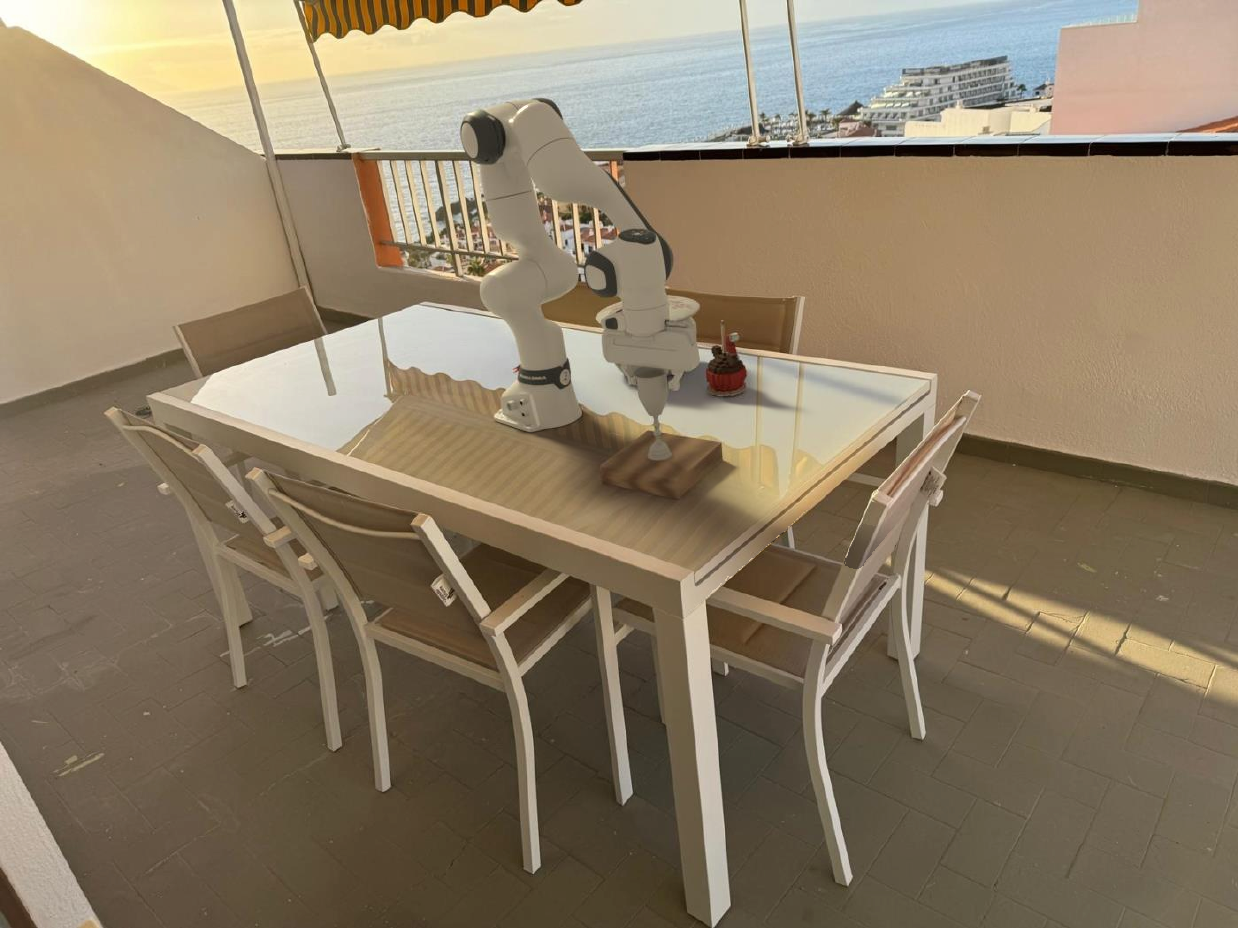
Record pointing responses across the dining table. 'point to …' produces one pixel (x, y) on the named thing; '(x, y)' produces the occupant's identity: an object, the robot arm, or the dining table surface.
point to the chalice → (654, 404)
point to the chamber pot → (677, 310)
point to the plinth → (662, 465)
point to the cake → (726, 367)
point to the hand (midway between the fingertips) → (653, 386)
